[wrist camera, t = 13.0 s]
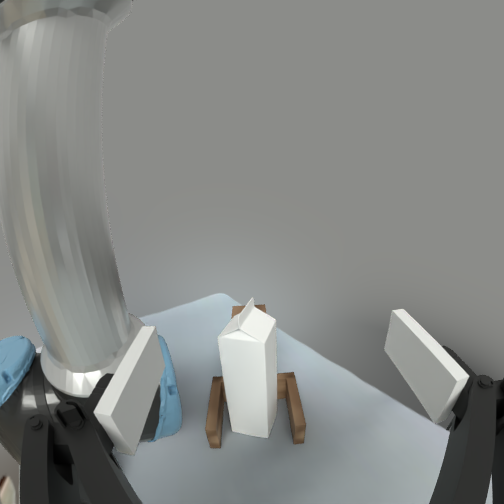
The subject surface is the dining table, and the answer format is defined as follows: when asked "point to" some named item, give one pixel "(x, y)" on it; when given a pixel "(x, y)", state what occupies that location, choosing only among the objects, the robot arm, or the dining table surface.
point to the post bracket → (284, 390)
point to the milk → (250, 371)
